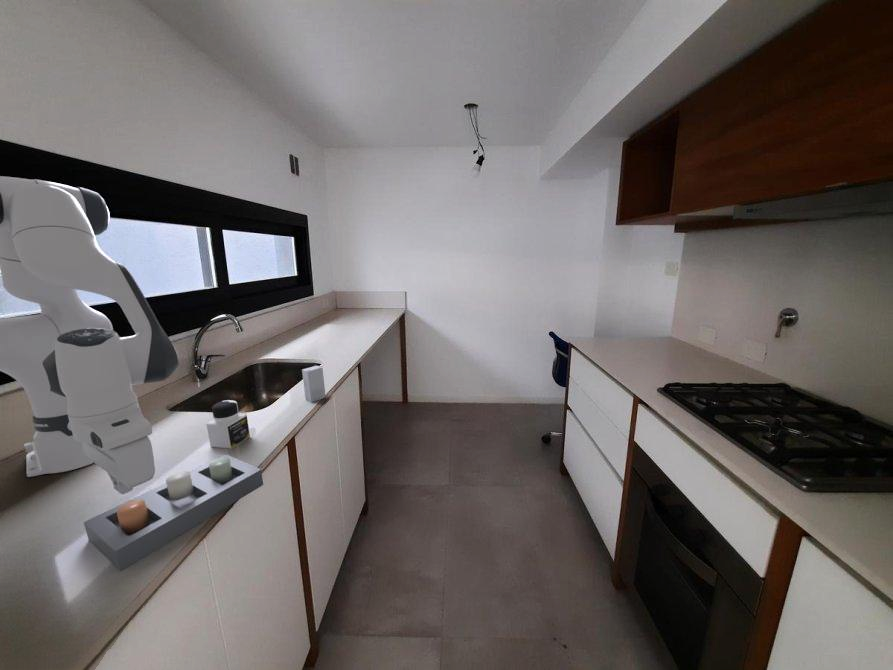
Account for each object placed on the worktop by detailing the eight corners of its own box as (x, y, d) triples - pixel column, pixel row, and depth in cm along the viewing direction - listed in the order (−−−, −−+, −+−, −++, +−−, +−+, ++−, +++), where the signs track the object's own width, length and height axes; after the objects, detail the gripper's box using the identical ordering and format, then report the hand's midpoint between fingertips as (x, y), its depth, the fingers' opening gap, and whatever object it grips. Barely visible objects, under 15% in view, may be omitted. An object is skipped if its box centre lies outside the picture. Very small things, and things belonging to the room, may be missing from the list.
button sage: (208, 481, 80) (205, 465, 79) (226, 471, 83) (223, 456, 82) (218, 486, 78) (215, 470, 77) (236, 476, 81) (233, 461, 80)
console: (88, 540, 66) (83, 522, 66) (228, 468, 88) (226, 454, 88) (120, 571, 60) (115, 551, 59) (263, 484, 82) (261, 469, 81)
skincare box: (319, 395, 135) (316, 364, 132) (326, 397, 132) (323, 366, 129) (304, 400, 130) (301, 369, 127) (311, 403, 127) (307, 371, 125)
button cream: (165, 496, 73) (162, 479, 72) (187, 485, 76) (184, 469, 75) (175, 502, 71) (171, 485, 70) (197, 491, 74) (194, 474, 73)
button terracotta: (117, 528, 66) (112, 510, 65) (143, 515, 69) (139, 497, 69) (126, 536, 64) (122, 517, 63) (153, 522, 68) (148, 503, 67)
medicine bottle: (231, 449, 97) (224, 409, 95) (209, 447, 99) (202, 407, 96) (250, 436, 104) (244, 398, 102) (229, 434, 106) (223, 397, 103)
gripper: (61, 415, 64) (79, 481, 67) (107, 444, 54) (125, 521, 58) (107, 402, 70) (121, 465, 73) (156, 427, 60) (170, 498, 63)
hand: (124, 490), depth 65 cm, fingers closed
